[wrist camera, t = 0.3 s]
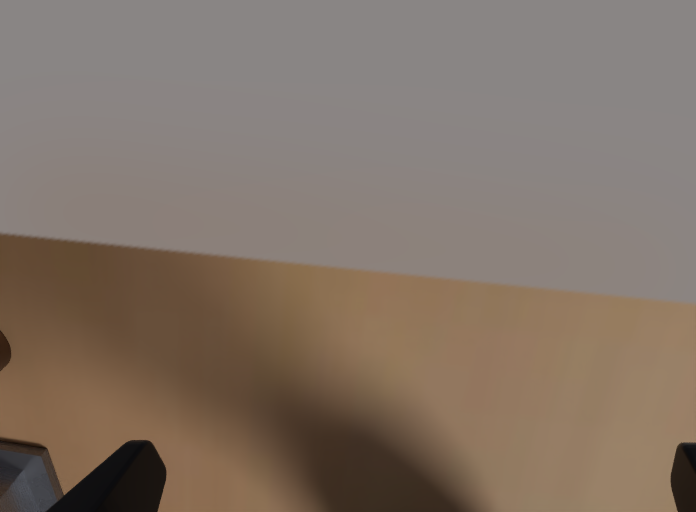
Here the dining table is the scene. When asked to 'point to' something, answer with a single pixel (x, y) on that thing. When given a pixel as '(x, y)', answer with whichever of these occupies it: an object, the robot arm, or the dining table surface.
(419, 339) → the dining table surface
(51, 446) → the dining table surface
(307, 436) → the dining table surface
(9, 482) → the cup bracket
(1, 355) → the tan round-top cylinder
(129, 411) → the dining table surface
